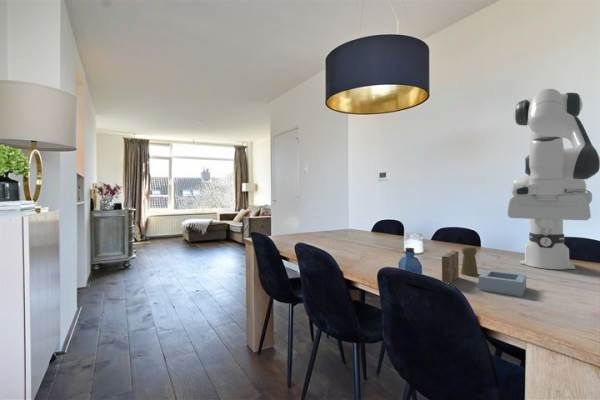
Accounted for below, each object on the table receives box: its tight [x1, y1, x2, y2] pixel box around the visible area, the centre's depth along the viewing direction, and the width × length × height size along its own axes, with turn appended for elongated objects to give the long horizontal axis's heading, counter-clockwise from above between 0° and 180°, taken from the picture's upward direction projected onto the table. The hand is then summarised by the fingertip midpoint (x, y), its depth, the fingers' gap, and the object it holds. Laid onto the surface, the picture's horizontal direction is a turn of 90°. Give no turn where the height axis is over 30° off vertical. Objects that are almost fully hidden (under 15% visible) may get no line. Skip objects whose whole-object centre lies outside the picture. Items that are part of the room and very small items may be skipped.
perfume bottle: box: [398, 247, 423, 275], centre depth 119 cm, size 6×6×12 cm
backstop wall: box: [441, 250, 460, 285], centre depth 118 cm, size 14×2×10 cm, turn 140°
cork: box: [460, 245, 479, 277], centre depth 128 cm, size 6×6×11 cm
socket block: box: [478, 269, 527, 297], centre depth 108 cm, size 12×12×4 cm
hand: (546, 233), depth 100 cm, fingers closed
